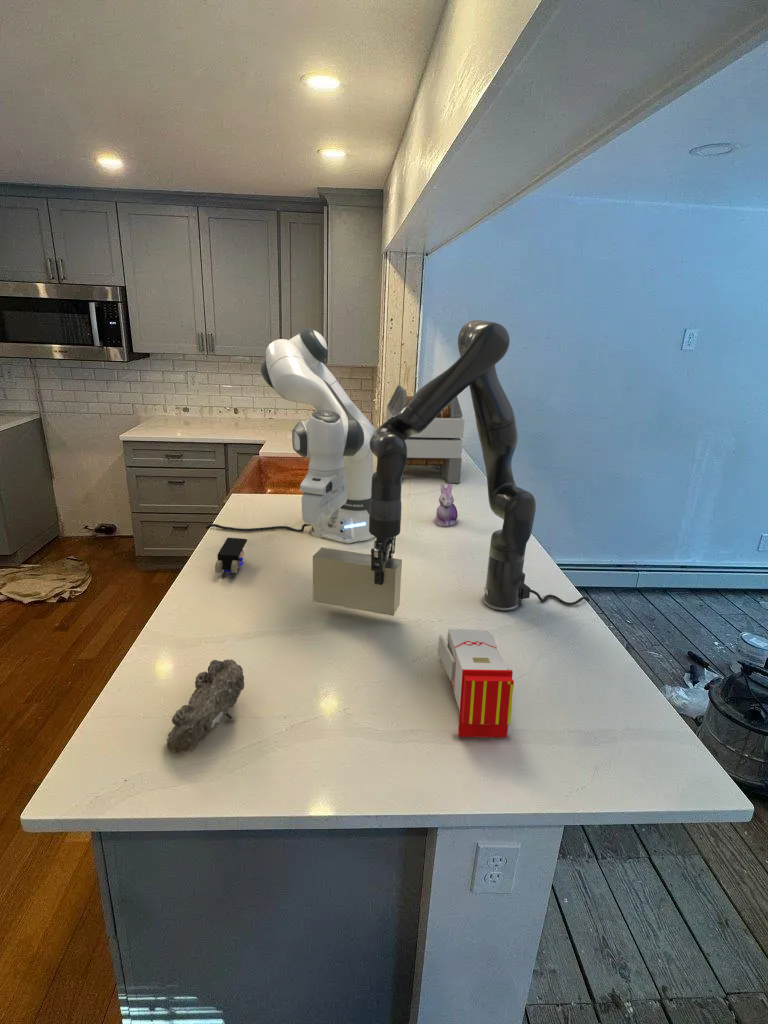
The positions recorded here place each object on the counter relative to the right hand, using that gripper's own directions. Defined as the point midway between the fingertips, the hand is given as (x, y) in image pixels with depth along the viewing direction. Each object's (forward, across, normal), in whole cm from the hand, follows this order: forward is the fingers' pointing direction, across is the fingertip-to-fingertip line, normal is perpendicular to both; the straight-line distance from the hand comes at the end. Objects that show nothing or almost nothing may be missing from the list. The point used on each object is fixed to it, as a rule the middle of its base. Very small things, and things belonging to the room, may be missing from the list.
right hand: (382, 577), depth 140 cm
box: (+8, 0, +7) cm, 11 cm away
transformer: (+13, +139, +21) cm, 141 cm away
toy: (+12, -21, -25) cm, 35 cm away
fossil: (+12, -45, +20) cm, 51 cm away
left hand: (-9, +5, +17) cm, 19 cm away
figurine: (+12, +76, -3) cm, 77 cm away
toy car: (+12, +13, +50) cm, 53 cm away
